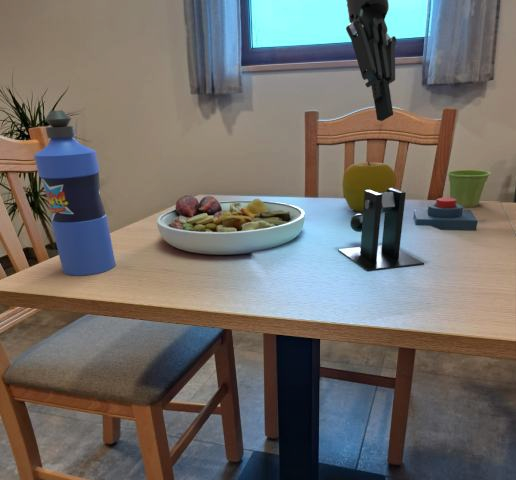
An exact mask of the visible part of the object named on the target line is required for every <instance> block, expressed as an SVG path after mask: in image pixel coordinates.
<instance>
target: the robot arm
mask: <svg viewBox="0 0 516 480" xmlns="http://www.w3.org/2000/svg"><path fill="white" fill-rule="evenodd" d="M389 6H390V5H389V0H346V9H347V15H348V20H349V24H348V25H347V26H346V27H345V30H346V33H347V34H348V36H349V39H350V40H351V41H350V42H351V44H352V48H353V51H354V54H355V58H356V60H357V64H358V67H359V71H360V75H361V78H362V80H364V81H366V80H367V82H366V83H365V85H364V86H365V87H366V88H370V87H371V92H372V98H373V103H374V109H375V115H376V120H377V121H379V122H383V121H385V120H387V119H388V118H390V117H392V116H393V115H394V110H393V104H392V97H391V96H392V95H391V90H390V84H391V83H393V82H395V81H396V45H397V42H398V41H397V37H396V36H394V35H392V37H390V35H389V34H388V26H387V23H386V20H385V19H386V17H387V14H388V12H389Z"/></svg>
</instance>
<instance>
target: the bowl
mask: <svg viewBox="0 0 516 480" xmlns="http://www.w3.org/2000/svg"><path fill="white" fill-rule="evenodd" d="M174 207H175V208H174V209H170V210H167V211H165V212H163V213H162V214H160V215H159V216H158V217H157V218H156V226H157V230H158V232H159V234H160V236H161V238H162V239H163V240H164V241H165V242H166V243H168V244H169V245H170V246H172V247H174V248H176V249H179V250H182V251H185V252H187V253H188V252H189V253H193V254H200V255H201V254H203V255H213V256H228V255H229V256H230V255H231V256H233V255H246V254H251V253H252V252H256V251H262V250H263V251H264V250H269V249H273V248H276V247H279V246H282V245H285V244H287V243H289V242H291V241H293V240H294V239H295V238H297V236H298V235H299V234H300V233H301V231H302V230H303V227H304V225H305V221H306V219H305V218H306V215H305V214H306V213H305V211H304V209H302V208H301V207H299V206H296V205H293V204H290V203H285V202H278V201H269V200H261V199H260V198H255V199H252V200H223V201H219V200H217V198H216V197H215V196H213V195H205V196H204V197H202V198H201V199H200V200H198V198H197V197H196V196H193V195H189V194H186V195H183V196H182V197H180V198H179V199H178V200H176V202H175V206H174Z"/></svg>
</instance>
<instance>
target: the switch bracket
mask: <svg viewBox="0 0 516 480" xmlns="http://www.w3.org/2000/svg"><path fill="white" fill-rule="evenodd" d="M387 192H393V196H394V203H395V207H394V208H392V209H391V210H390V211H388V212H387V213H384V217H383V218H384V219H383V227H382V229H383V230H382V238H381V239H382V240H381V244H379V237H380V226H381V214H382V213H381V205H382V194H380V193H377V192H374V191H371V190H365V193H364V207H363V212H362V214H363V221H362V231H361V234H360V235H361V237H360V246H358V247H349V248H347V247H346V248H339V249H337V251H338V252H339V253H340V254H342V255H343V256H344V257H346V258H347V259H349V260H350V261H351V262H353V263H354V264H356V265H357V266H358V267H360V268H361V269H363V270H364V271H366V272H374V271H375V272H376V271H383V270H385V271H386V270H392V269H393V270H394V269H401V268H410V267H417V266H418V267H419V266H425V262H423V261H421V260H419V259H417V258H416V257H414V256H412V255H410V254H408V253H406V252H405V251H402V250H401V249H400V248H401V239H402V230H403V221H404V212H405V204H406V194H407V193H406V191H402V190H399V189H397V188H394V189H393V188H389V189H387Z"/></svg>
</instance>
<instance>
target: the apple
mask: <svg viewBox="0 0 516 480" xmlns="http://www.w3.org/2000/svg"><path fill="white" fill-rule="evenodd" d="M396 185H397V176H396V172H395V171H394V169H393V167H391V166H390V165H389V164H387V163H384V162H374V161H373V162H372V161H371V162H370V161H365V162H363V161H361V162H355V163H353V164H350V165H349V166H348V167H347V168H346V170H345V171H344V173H343V175H342V185H341V186H342V193H343V196H344V198H345V201H346V203H347V205H348V207H349V208H350V210H352V211H354V212H358V213H363V207H364V193H365V190H371V191H374V192H377V193H386V192H387V189H389V188H393V189H396V188H395V187H396Z"/></svg>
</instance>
